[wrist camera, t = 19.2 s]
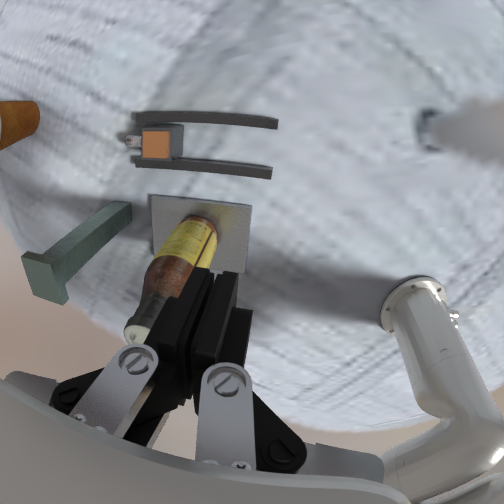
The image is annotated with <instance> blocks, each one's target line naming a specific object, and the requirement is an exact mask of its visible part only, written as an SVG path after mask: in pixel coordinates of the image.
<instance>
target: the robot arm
mask: <svg viewBox="0 0 504 504" xmlns="http://www.w3.org/2000/svg"><path fill="white" fill-rule="evenodd" d="M238 276H239V274H238V273H235V272H228V271H224V272H223V275H222V274H218V275H217V277H216V280H215V282H214V273H210V270H209V268H202V267H196V266H195V267H194V268H193V270H192V272H191V274H190V276H189V278H188V280H187V282H186V283H185V285H184V287H183V289H182V291H181V293H180V295H179V297H172V296H170V297H168V299H167V300H166V302H165V304H164V306H163V307H162V309H161V311H160V313H159V315H158V317H157V318H156V320H155V322H154V324H153V326H152V328H151V330H150V332H149V333H148V335H147V337H146V339H145V341H144V343H143V344H130V345H127V346H125V347H123V348H121V349H120V350H119V351H118V352H117V353H116V354H115V356H114V357H113V358H112V359H111V361H110V362H109V363H108V364H107V366H106V367H104V368H101V369H99V370H96V371H93V372H90V373H87V374H84V375H81V376H78V377H75V378H72V379H69V380H66V381H64V382H61V383H58V381H57V380H55V379H50V378H45V377H41V376H37V375H33V374H29V373H25V372H21V371H14V372H11V373H9V374H8V375H7V376H6V378H5V379H4V380H2V379H0V504H504V473H502V472H500V473H495V474H492V475H489V476H487V477H485V478H483V479H480V480H478V481H476V482H474V483H472V484H470V485H468V486H466V487H464V488H462V489H460V490H458V491H455V492H453V493H451V494H449V495H447V496H444V497H441V498H439V499H436V500H432V499H431V498H432V497H434V496H437V495H439V494H442V493H444V492H446V491H450V490H452V489H454V488H456V487H458V486H461V485H463V484H465V483H467V482H469V481H471V480H473V479H475V478H476V477H478V476H480V475H482V474H483V473H485V472H487V471H488V470H489V469H490V468H492V467H493V466H494V465H495V464H497V463H498V462H499V460H501V458H502V457H503V456H504V416H503V415H502V413H501V411H500V410H499V408H498V406H497V405H496V403H495V402H494V400H493V398H492V396H491V395H490V393H489V391H488V389H487V387H486V386H485V383H484V381H483V379H482V377H481V375H480V373H479V371H478V369H477V367H476V365H475V363H474V361H473V359H472V357H471V355H470V353H469V351H468V349H467V347H466V345H465V343H464V341H463V339H462V337H461V335H460V333H459V331H458V329H457V326H458V323H457V321H456V320H452V319H451V318H457V317H458V314H459V313H458V311H455V310H451V311H450V310H449V308H448V307H447V305H446V302H447V295H446V291H445V289H444V288H443V286H442V285H441V284H440V282H438V281H437V280H435V279H433V278H429V277H419V278H414V279H411V280H409V281H406V282H405V283H403V284H401V285H399V286H398V287H397V288H396V289H394V290H393V291H392V292H391V293H390V294H389V296H388V297H387V298H386V300H385V302H384V304H383V306H382V309H381V313H380V319H381V323H382V326H383V328H384V329H385V331H386V332H387V333H388V334H390V335H392V336H395V337H396V339H397V342H398V345H399V348H400V351H401V354H402V357H403V360H404V363H405V366H406V369H407V373H408V376H409V379H410V383H411V386H412V390H413V393H414V397H415V400H416V402H417V404H418V406H419V407H420V408H421V409H422V410H423V411H424V412H426V413H428V414H430V415H432V416H435V417H437V418H440V419H441V421H440V422H439V423H438V424H437V425H435V426H434V427H432V428H430V429H429V430H427V431H425V432H424V433H422V434H420V435H418V436H416V437H414V438H412V439H409V440H407V441H405V442H403V443H401V444H399V445H397V446H395V447H393V448H391V449H389V450H387V451H386V452H385V453H383V454H382V456H380V458H378V457H377V456H376V455H373V454H370V453H363V452H358V451H352V450H347V449H341V448H337V447H332V446H328V445H323V444H319V443H316V444H315V445H313V444H309V443H305V442H303V441H302V440H301V438H300V437H299V436H297V435H296V434H295V433H294V432H293V431H292V430H291V429H290V428H289V427H288V426H287V425H286V424H285V423H284V422H283V421H282V420H281V419H280V418H279V417H278V416H277V415H276V414H275V413H274V412H273V411H272V410H271V409H270V408H269V407H268V406H267V405H266V404H265V403H264V402H263V401H262V400H261V399H260V398H259V397H258V396H257V395H256V394H255V393H254V392H253V391H252V381H251V376H250V375H249V373H248V372H247V371H246V370H245V369H244V364H245V359H246V353H247V347H248V341H249V335H250V328H251V321H252V314H253V310H248V309H242V308H236V299H237V287H238ZM192 395H193V399H194V407H195V413H196V414H197V415H198V428H197V441H196V455H195V460H190V459H186V458H182V457H178V456H174V455H170V454H167V453H163V452H160V451H157V450H153V449H151V448H152V446H153V445H154V443H155V441H156V439H157V437H158V435H159V434H160V432H161V430H162V428H163V426H164V425H165V423H166V421H167V419H168V417H169V414H170V411H172V410H174V409H176V408H177V407H178V405H182V406H184V403H185V401H186V399H191V398H192Z"/></svg>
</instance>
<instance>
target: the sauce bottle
mask: <svg viewBox="0 0 504 504" xmlns="http://www.w3.org/2000/svg"><path fill="white" fill-rule="evenodd" d="M217 242H218V239H217V234H216V230H215V229H214V227H213V225H212V224H211V223H210V222H209V221H207V220H205V219H203V218H200V217H190V218H186V219H184V220H183V221H181V222H180V224H178V225H177V226H176V228H175V229H174V230H173V232H172V233H171V234H170V236H169V237H168V239H167V240H166V242H165V243H164V244H163V246H162V247H161V249H160V250H159V252H158V253H157V255H156V256H155V258H154V259H153V261H152V262H151V264H150V265H149V267H148V269H147V271H146V274H145V278H144V285H143V291H142V297H141V302H140V305H139V307H138V308H137V310H136V312H135V314H134V315H133V317H131V318H130V319H129V320H128V322H127V324H126V326H125V328H124V337H125V339H126V341H127V343H128V344H129V345H130V344H143V343H144V341H145V339H146V337H147V335H148V333H149V332H150V330H151V328H152V326H153V324H154V322H155V320H156V318H157V317H158V315H159V313H160V311H161V309H162V307H163V306H164V304H165V302H166V300H167V299H168V297H170V296H172V297H179V295H180V293H181V291H182V289H183V287H184V285H185V283H186V282H187V280H188V278H189V276H190V274H191V272H192V270H193V268H194V267H195V266H196V267H202V268H209V266H210V263H211V260H212V258H213V255H214V253H215V250H216V246H217Z"/></svg>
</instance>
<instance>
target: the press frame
mask: <svg viewBox="0 0 504 504" xmlns="http://www.w3.org/2000/svg"><path fill="white" fill-rule="evenodd" d="M278 121H279V119H272V118H264V117H254V116H244V115H232V114H217V113H194V112H145V113H136V122H193V123H213V124H228V125H240V126H250V127H259V128H268V129H276V130H277V129H278ZM135 166H136V167H138V168H157V169H173V170H186V171H198V172H209V173H219V174H229V175H238V176H246V177H255V178H262V179H270V180H271V177H272V169H273V167H265V166H258V165H249V164H240V163H231V162H221V161H210V160H198V159H184V158H176V159H174V160H172V161H157V160H141V157H138V158H136V159H135ZM151 212H152V232H153V246H154V258H155V256H156V255H157V253H158V252H159V250H160V249H161V247H162V246H163V244H164V243H165V242H166V240H167V239H168V237H169V236H170V234H171V233H172V232H173V230H174V229H175V228H176V226H177V225H178V224H180V222H181V221H183V220H184V219H186V218H190V217H200V218H203V219H205V220H207V221H209V222H210V223H211V224H212V225H213V227H214V229H215V230H216V234H217V239H218V242H217V246H216V250H215V253H214V255H213V258H212V260H211V263H210V266H209V268H212V269H218V270H225V271H231V272H238V273H245V270H246V261H247V252H248V242H249V233H250V224H251V214H252V206H249V205H242V204H234V203H226V202H217V201H209V200H200V199H191V198H181V197H171V196H161V195H153V196H152V197H151ZM131 221H132V218H131V204H130V202H121V201H113V202H112V203H110V204H109V205H107V206H106V207H104V208H103V209H101V210H100V211H99V212H97V213H96V214H94V215H93V216H92V217H90V218H89V219H87V220H86V221H85V222H83V223H82V224H81V225H79V226H78V227H77V228H75V229H74V230H73V231H71V232H70V233H69V234H67V235H66V236H65V237H64V238H62V239H61V240H60V241H58V242H57V243H56V244H55V245H53V246H52V247H51V248H50V249H49V250H47V251H46V252H45V253H44V254H42V255H41V254H37V253H33V252H29V251H27V252H26V253H25V254H23V255H22V256H21V259H22V262H23V266H24V269H25V272H26V275H27V278H28V281H29V284H30V287H31V289H32V292H33V295H35V296H38V297H40V298H43V299H46V300H49V301H51V302H54V303H58V304H60V305H64V304H65V303H66V302H67V301H68V299H69V297H68V294H67V291H66V287H65V284H66V283H67V282H68V281H69V280H70V279H71V278H72V277H73V276H74V275H75V274H76V273H77V272H78V271H79V270H80V269H81V268H82V267H83V266H84V265H85V264H86V263H87V262H88V261H89V260H90V259H91V258H92V257H93V256H94V255H95V254H96V253H97V252H98V251H99V250H100V249H101V248H102V247H103V246H104V245H105V244H107V243H108V242H109V241H110V240H111V239H112V238H113V237H114V236H115V235H116V234H118V233H119V232H120V231H121V230H122V229H123V228H124V227H125V226H126V225H128V224H129V223H130V222H131Z"/></svg>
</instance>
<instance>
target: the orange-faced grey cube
mask: <svg viewBox="0 0 504 504" xmlns="http://www.w3.org/2000/svg"><path fill="white" fill-rule="evenodd" d="M183 131H184V125H152V126H147V127H143V128H142V130H141V135H128V136H127V137H126V140H125V144H126V147H140V148H141V160H157V161H172V160H174V159H176V158H178V157H180V156H182V153H183Z"/></svg>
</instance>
